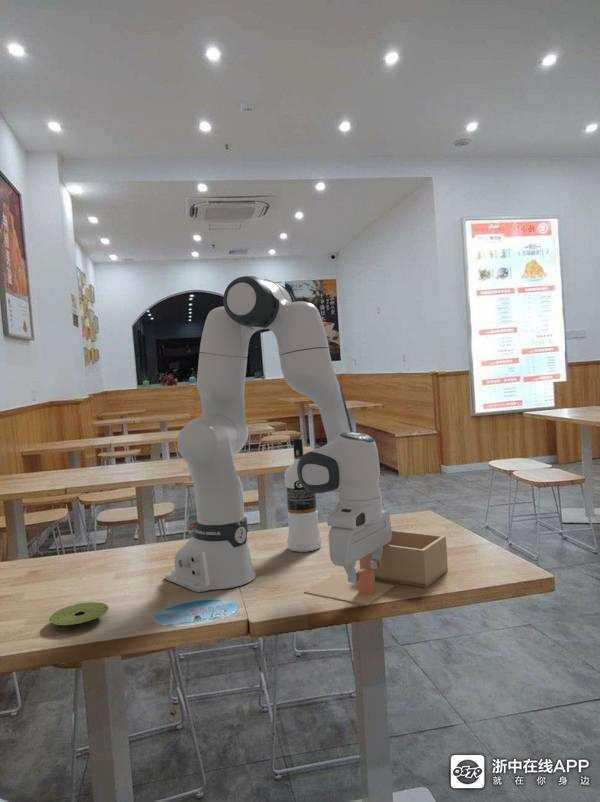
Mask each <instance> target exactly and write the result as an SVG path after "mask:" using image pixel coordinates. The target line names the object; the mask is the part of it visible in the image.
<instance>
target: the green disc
mask: <svg viewBox="0 0 600 802" xmlns="http://www.w3.org/2000/svg"><path fill="white" fill-rule="evenodd" d="M108 611H109V605H107V604H106V603H104V602H98V601H97V602H95V601H90V602H81V603H76V604H72V605H69V606H64V607H63V608H61V609H58V610H56V611H55V612H53V614H51V615H50V616H49V618H48V619H49V623H51V624H54V625H57V626H58V625H59V626H70V625H71V626H72V625H76V624H83V623H86V622H90V621H92V620H95V619H98V618H100V617H102V616H103V615H105V614H106V613H107V612H108Z"/></svg>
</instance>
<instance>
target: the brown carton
mask: <svg viewBox="0 0 600 802" xmlns="http://www.w3.org/2000/svg"><path fill="white" fill-rule="evenodd" d="M447 547H448V546H447V536H446V535H440V534H430V533H425V532H424V533H422V532H421V533H420V532H414V531H413V532H412V531H406V530H405V531H404V530H396V529H392V539H391V542H389V543H388V544H386V545H384V546H383V553H382V556H381V567H379V568H377V569H373V568H371V566H370V565H371V564H370V560H371V559H372V554H373V552H372V553H370V554H368V555H367V556H365V557H363V558H361V559H360V560H359V570H360V569H368V570H374V574H375V580H376V581H377V580H378V581H383V582H384V581H385V582H389V583H390V582H391V583H395V584H401V585H407V586H411V587H412V586H414V587H419V588H425V589H427V588H428V587H429V586H430V585H432V584H433V583H434V582H435V581H437V580H438V579H439V578H440V577H442V576H443V575H444V574H445V573H447V572H448V571H449V568H448V567H449V566H448V551H447V549H448V548H447ZM441 575H442V576H441Z"/></svg>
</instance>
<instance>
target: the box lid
mask: <svg viewBox="0 0 600 802" xmlns="http://www.w3.org/2000/svg"><path fill="white" fill-rule="evenodd" d="M356 572H357V573H359V580H358V581H357V582H355V583H350V582H348V576H346V577H345V576H339V575H335V574H332V575H330V576H328V578H325V579H323V580H322V581H320V582H318V583H316V584H315V585H313V586H311V587H309V588H308V589H306V590H304V591H303V593H304V594H309V595H313V596H318V597H321V598H328V599H333V600H337V601H343V602H348V603H351V604H352V603H353V604H355V605H357V604H358V605H361V606H362V605H364V606H366V607H367V606H369V605H370V604H371V603H373V602H375V601H376V600H378V599H379V598H380V597H381V596H383V595H385V594H386V593H387V592H389V591H390V590H391V589H393V588H394V585H392V584H386V583H380V582H376V579H375V574H374V570H368V569H360V568H359V570H356Z"/></svg>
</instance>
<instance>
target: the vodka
mask: <svg viewBox="0 0 600 802" xmlns="http://www.w3.org/2000/svg"><path fill="white" fill-rule="evenodd" d="M292 445H293V446H292V447H293V463H292V464H291V465H290V466H289V467H287V468H286V470H285V471H284V476H283V477H284V481H285V484H284V486H285V490H286V491H285V492H286V505H287V506H286V507H287V513H286V514H287V515H286V516H287V520H288V521H287V523H288V534H287V541H286V542H287V544H286V545H287V548H288V550H290V551H292V552H294V551H297V552H296V553H310V552H309V551H311V552H314V550H315V551H317V550H319V548H321V546H322V544H323V542H322V537H321V533H320V530H319V529H320V528H319V519H318V517H319V515H318V513H319V511H318V504H317V493H311V492H309V491H307V490H306V489H305V488H304V487H303V486H302V485H301V483H300V481H299V478H298V474H297V466H298V462H299V460H300V458H301V457H302V456H303V455H304V444H303V438H302V437H296V438H292Z"/></svg>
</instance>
